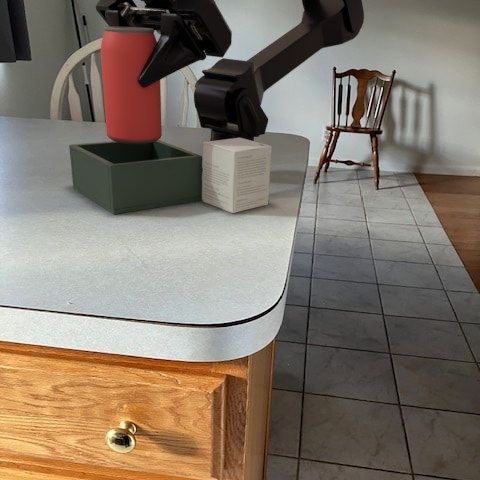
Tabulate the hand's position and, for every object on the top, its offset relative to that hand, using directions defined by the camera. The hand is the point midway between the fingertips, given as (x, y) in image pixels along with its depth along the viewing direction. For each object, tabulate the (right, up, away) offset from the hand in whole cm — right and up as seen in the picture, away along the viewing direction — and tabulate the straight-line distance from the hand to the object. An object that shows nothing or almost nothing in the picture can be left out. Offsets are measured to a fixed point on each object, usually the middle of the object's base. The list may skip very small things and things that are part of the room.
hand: (122, 81), depth 62 cm
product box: (+13, -13, +6) cm, 19 cm away
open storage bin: (0, -11, +7) cm, 13 cm away
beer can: (+1, -6, +4) cm, 7 cm away
